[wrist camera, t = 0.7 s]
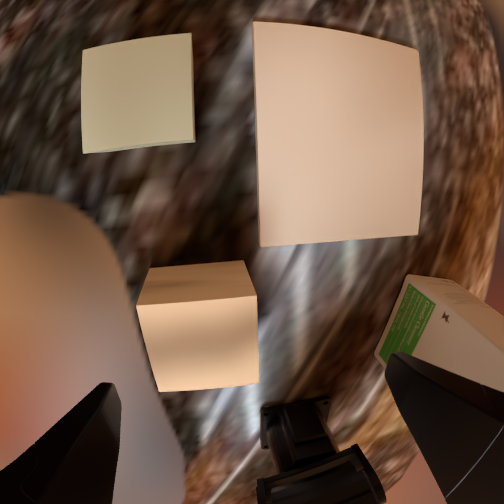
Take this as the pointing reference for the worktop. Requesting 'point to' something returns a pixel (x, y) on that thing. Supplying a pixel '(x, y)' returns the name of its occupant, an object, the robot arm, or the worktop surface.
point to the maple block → (200, 326)
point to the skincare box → (446, 330)
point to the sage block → (138, 94)
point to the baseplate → (335, 135)
